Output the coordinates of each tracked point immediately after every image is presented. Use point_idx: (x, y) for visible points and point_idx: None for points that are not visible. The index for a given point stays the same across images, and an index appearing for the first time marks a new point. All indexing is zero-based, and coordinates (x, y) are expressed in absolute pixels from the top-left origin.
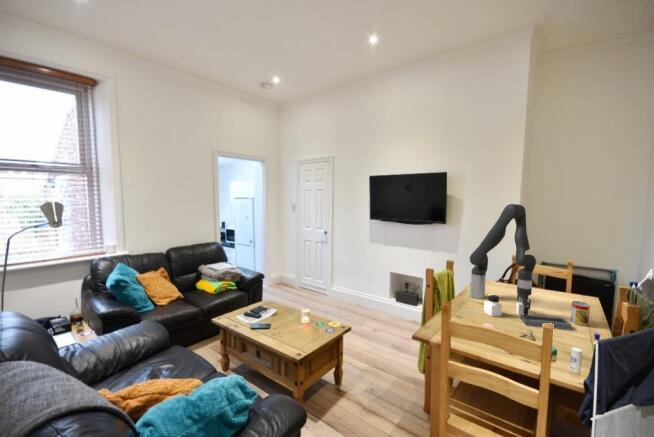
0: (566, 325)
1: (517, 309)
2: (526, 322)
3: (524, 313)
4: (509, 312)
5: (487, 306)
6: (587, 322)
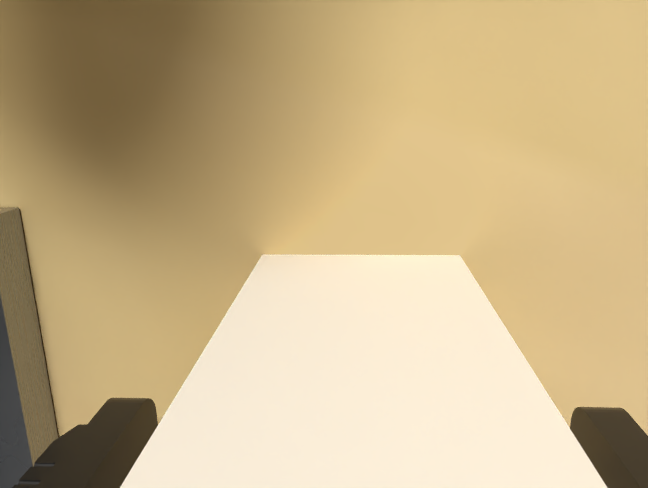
0: None
1: (346, 311)
2: None
3: (104, 421)
4: (423, 49)
5: None
6: None
